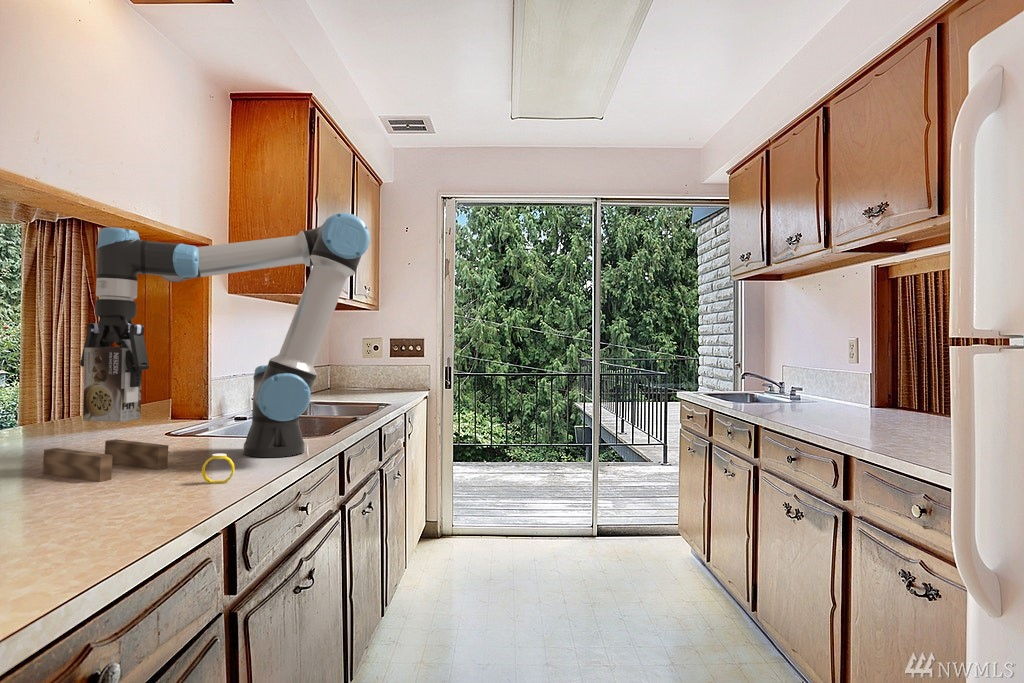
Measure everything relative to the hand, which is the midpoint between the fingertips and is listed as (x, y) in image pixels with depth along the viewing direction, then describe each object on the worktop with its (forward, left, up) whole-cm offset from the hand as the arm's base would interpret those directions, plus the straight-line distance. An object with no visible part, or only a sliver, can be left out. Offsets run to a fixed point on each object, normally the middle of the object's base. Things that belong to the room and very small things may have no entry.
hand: (112, 400), depth 128 cm
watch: (-28, -2, -15) cm, 32 cm away
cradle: (0, 0, -15) cm, 15 cm away
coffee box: (0, 0, -4) cm, 4 cm away
